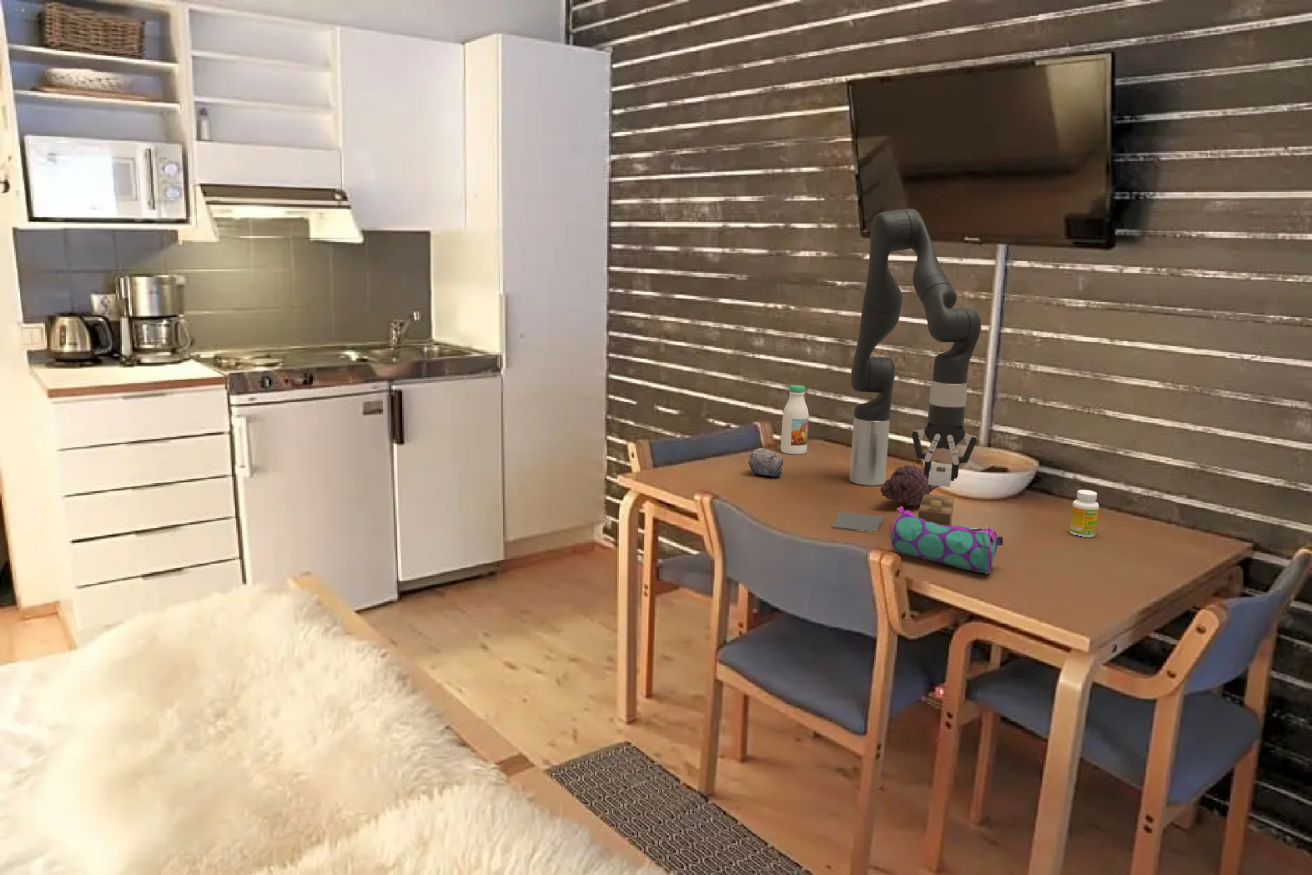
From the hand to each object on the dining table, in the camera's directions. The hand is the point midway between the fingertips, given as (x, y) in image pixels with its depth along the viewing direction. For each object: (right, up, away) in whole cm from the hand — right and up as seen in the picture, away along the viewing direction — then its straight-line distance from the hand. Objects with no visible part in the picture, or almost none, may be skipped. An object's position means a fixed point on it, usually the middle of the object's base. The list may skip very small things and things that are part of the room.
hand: (940, 478), depth 208 cm
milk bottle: (-21, +4, +77) cm, 80 cm away
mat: (-16, -11, +10) cm, 21 cm away
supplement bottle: (+34, -13, +6) cm, 36 cm away
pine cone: (-1, -8, +24) cm, 25 cm away
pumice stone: (-32, -1, +49) cm, 59 cm away
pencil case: (-4, -17, -14) cm, 22 cm away
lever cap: (0, -1, 0) cm, 1 cm away
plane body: (-1, -13, +1) cm, 13 cm away
